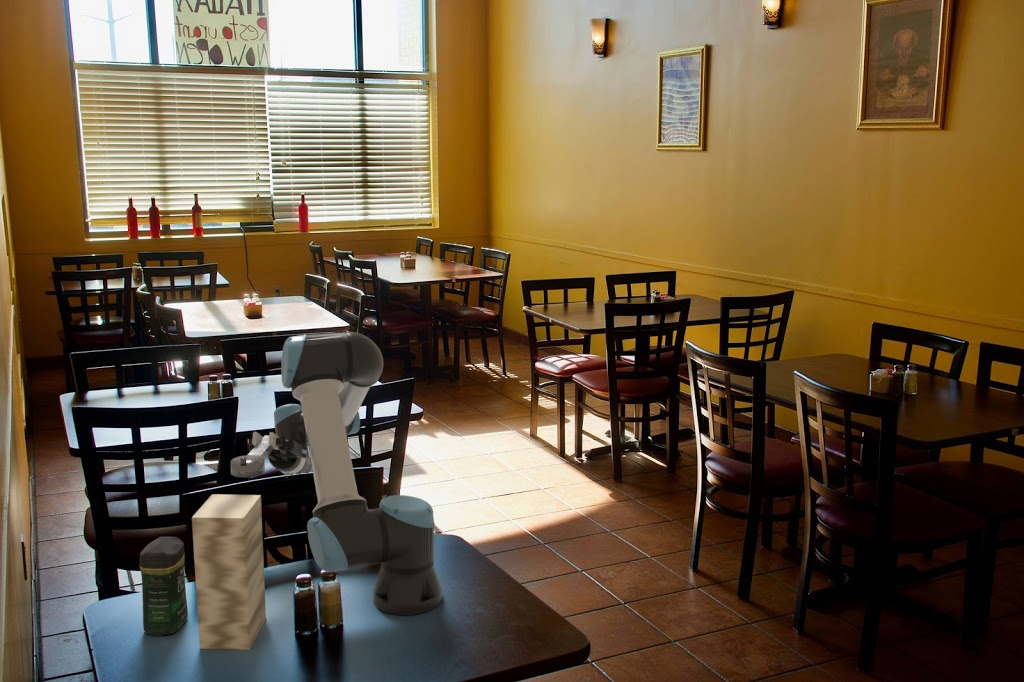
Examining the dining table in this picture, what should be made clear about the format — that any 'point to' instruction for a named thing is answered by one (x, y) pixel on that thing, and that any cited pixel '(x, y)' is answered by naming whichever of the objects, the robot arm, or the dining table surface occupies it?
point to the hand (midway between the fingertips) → (262, 437)
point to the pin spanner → (252, 460)
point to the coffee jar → (163, 586)
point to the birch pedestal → (229, 571)
